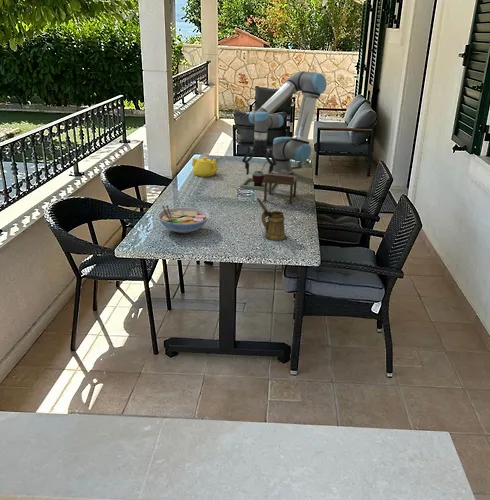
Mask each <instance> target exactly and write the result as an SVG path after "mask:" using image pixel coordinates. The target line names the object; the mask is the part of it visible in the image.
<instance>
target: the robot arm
mask: <svg viewBox="0 0 490 500" xmlns="http://www.w3.org/2000/svg"><path fill="white" fill-rule="evenodd" d="M326 90H327V79H326V77H325V75H324V74H323V73H321V72H313V71H305V70H302V71H298V72H295V73H294V74H292V75H291V76H290V77H288V78H287V79H286V80H285V81H284V82H283V85H282V86H281V87H280V88H279V89H278V90H277V91H276V92H275V93H274V94H273V95H272V96H270V97H269V98H268V99H267V101H265V103H264V104H262V105H261V106H260V107H259V108H258V109H257V110H251V111H250V112H249V114H248V121H249V123H251V124H252V125H253V124H254V131H253V132H254V134H253V139H254V140H253V146H248V147H247V151H246V153H245V154H244V156H243V158H242V161H241V162H242V163H244V169H245V170H246V175H249V174H250V163H249V162H250V161H251V160H252V159H253V157H255V155H256V156H257V157H258V156H260V157H264V159H265V160H266V162H267V161H268V162H267V163H268V164H269V169H268V174H269V173H279V174H289V175H293V169H299V168H301V167H302V165H301V164H302V163H307V164H309V163H310V161H307V160H308V159H309V158H310V156H311V154H312V146H311V145H310V140H309V136H310V130H311V126H312V121H313V117H314V113H315V109H316V104H317V100H318V99H320V97H321V94H323V93H325V92H326ZM298 92H301V95H302V100H301V104H300V109H299V114H298V118H297V122H296V127H295V131H294V135H293V136H279V137H275V138H273V140H272V141H273V142H272V148H268V129H277V128H281V127H282V126H283V125H284V117H283V116H282V115H281V114H277V113H276V114H274V113H275V111H277V110H278V109H279V108H280V107H281V106H282V105H283V104H284V103H286V101H287V100H288V99H289V98H290V97H291V96H293V95H295V94H297V93H298ZM252 150H253V153H252V154H251V155H250V153H251V152H252ZM267 152H268V154H269V156H268V154H267ZM249 155H250V156H249ZM248 156H249V157H248ZM247 158H248V159H247ZM291 160H292V161H295V162H297V165H298V166H292V163H291Z"/></svg>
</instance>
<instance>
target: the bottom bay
mask: <svg viewBox="0 0 490 500" xmlns="http://www.w3.org/2000/svg"><path fill="white" fill-rule="evenodd" d="M249 181H250V182H253V179H252V177H247V178H246V179H244V181H243V182H242V183H241V184H240V188H241V189H250V190H259V191H264V188H265V186H254V185H248V184H247V183H248V182H249ZM262 183H265V182H264V180H263V182H262ZM246 184H247V185H246ZM275 185H276V184H275V183H272V189H273V188H274V187H275ZM267 192H269V187H267Z"/></svg>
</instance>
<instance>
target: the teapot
mask: <svg viewBox="0 0 490 500" xmlns="http://www.w3.org/2000/svg"><path fill="white" fill-rule="evenodd" d="M217 161H218V160H217V158H213V159H211V158H208V156H202V157H201V158H197V157H193V158H192V162H191V166H192V167H193V169H192V173H194V175H195V176H197V177H202V178H209V177H214V175H216V173H217V171H218V170H219V168H218V164H217Z"/></svg>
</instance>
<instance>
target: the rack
mask: <svg viewBox="0 0 490 500" xmlns="http://www.w3.org/2000/svg"><path fill="white" fill-rule="evenodd" d="M263 174H264V182H263V183H264V187H265V188H264V190H263V201H264V202H267V198H268V196H267V195H272V191H273V190H272V189H273V188H272V183H275V185H276V184H277V185H287V186H289V187H290V189H289V202H288V204H289V205H293V198H294V197H297V194H296V193H297V182H298V179H299V176H298V175H297V174H290V175H289V174H279V173H269V172H268V173H263ZM268 186H269V187H268ZM267 188H269V191H268V190H267Z"/></svg>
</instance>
